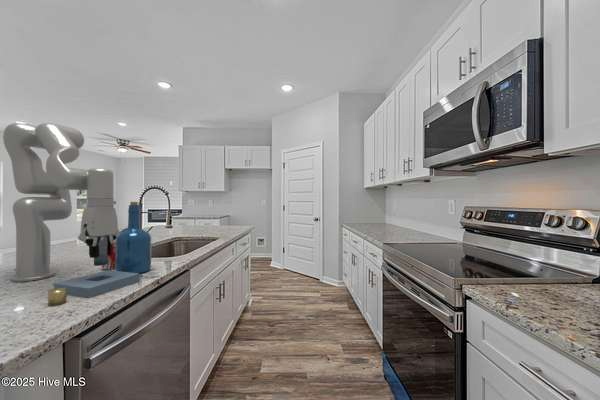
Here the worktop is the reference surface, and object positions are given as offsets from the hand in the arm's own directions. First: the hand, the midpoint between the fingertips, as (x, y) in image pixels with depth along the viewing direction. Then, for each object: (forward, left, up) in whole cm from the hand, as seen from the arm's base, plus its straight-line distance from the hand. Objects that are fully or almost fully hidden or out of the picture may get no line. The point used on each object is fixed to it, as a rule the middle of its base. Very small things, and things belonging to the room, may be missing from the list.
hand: (100, 255), depth 94 cm
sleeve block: (0, 0, -11) cm, 11 cm away
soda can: (-21, +20, -11) cm, 31 cm away
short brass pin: (+4, -15, -11) cm, 19 cm away
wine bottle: (-7, +19, -11) cm, 23 cm away
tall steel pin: (0, 0, -3) cm, 3 cm away
